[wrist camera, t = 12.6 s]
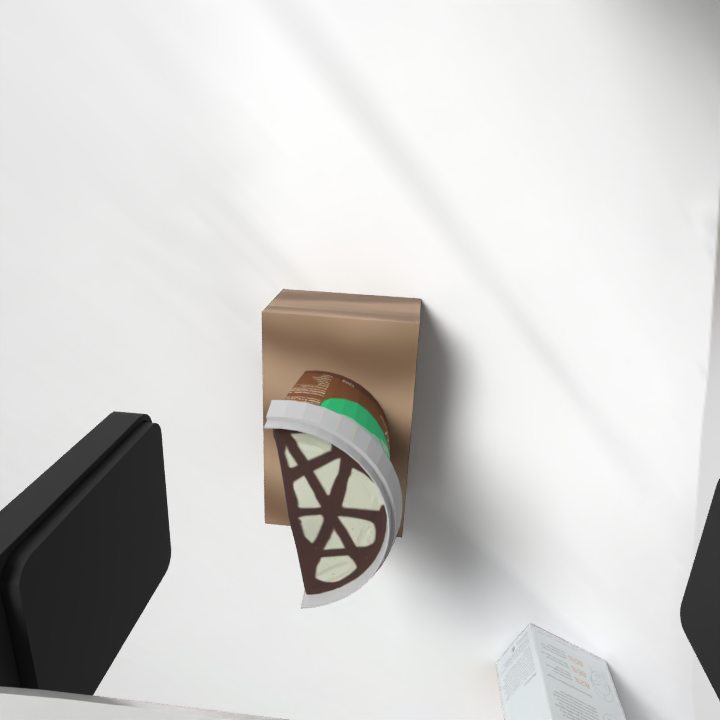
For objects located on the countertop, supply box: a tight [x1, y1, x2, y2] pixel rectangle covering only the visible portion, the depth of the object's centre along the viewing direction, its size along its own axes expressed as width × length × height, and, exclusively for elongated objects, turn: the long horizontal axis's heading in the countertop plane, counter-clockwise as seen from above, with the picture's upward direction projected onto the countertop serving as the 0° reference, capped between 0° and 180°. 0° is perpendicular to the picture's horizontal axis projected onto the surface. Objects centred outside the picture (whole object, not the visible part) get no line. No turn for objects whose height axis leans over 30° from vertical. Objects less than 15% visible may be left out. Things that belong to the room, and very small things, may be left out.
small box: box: [496, 624, 627, 720], centre depth 48 cm, size 8×6×10 cm
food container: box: [264, 370, 402, 609], centre depth 36 cm, size 12×6×10 cm, turn 7°
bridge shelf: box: [262, 289, 421, 537], centre depth 43 cm, size 16×10×6 cm, turn 177°
